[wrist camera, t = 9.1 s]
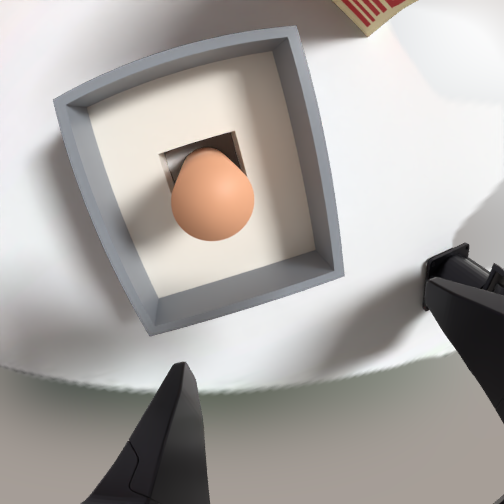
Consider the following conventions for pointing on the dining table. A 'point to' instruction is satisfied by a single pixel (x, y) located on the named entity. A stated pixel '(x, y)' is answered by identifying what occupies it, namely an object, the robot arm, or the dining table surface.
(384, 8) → the milk carton
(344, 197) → the dining table surface
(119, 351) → the dining table surface
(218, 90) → the box
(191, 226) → the peg
